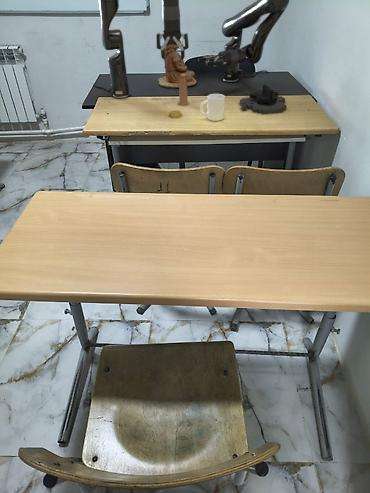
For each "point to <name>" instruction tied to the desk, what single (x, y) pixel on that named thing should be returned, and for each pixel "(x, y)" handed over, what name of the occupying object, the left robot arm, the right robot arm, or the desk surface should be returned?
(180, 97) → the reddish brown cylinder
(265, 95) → the abstract sculpture
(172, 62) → the sculpture
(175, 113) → the lid
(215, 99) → the mug
